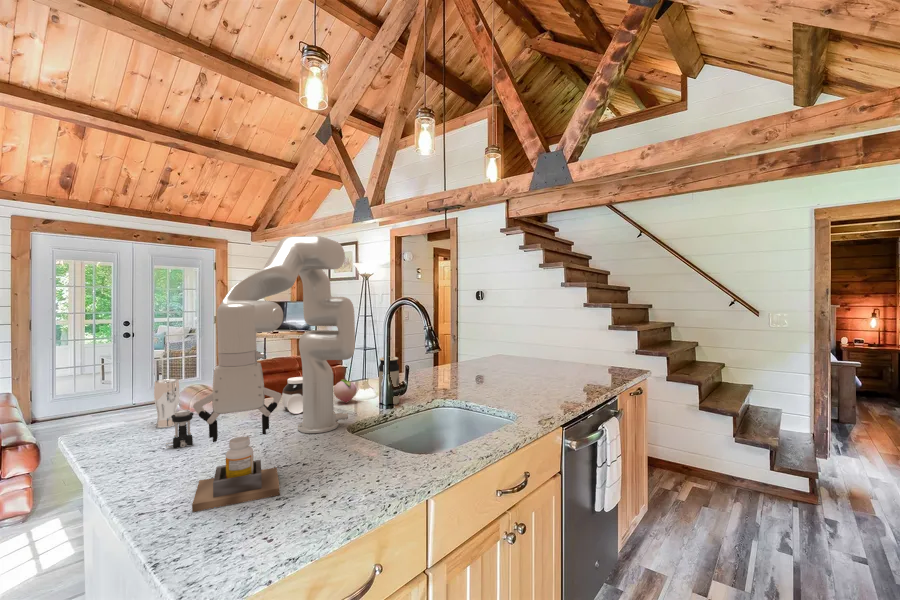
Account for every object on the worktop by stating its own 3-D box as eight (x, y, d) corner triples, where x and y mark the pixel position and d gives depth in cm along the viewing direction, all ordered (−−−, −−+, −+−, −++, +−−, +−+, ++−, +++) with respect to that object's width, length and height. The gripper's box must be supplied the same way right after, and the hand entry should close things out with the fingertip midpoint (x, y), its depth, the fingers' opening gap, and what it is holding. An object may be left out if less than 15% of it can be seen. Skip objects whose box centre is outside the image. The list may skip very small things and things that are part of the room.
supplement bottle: (233, 478, 93) (232, 435, 93) (257, 477, 93) (257, 434, 93) (221, 489, 88) (220, 444, 88) (247, 488, 88) (246, 443, 88)
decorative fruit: (329, 402, 166) (329, 377, 166) (348, 399, 172) (347, 375, 171) (341, 407, 159) (340, 381, 159) (359, 403, 165) (359, 378, 165)
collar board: (276, 473, 99) (276, 454, 99) (279, 495, 88) (279, 474, 88) (199, 487, 92) (199, 467, 92) (192, 512, 81) (192, 489, 81)
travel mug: (375, 404, 163) (375, 359, 163) (385, 399, 170) (385, 356, 170) (393, 406, 160) (392, 360, 160) (402, 401, 167) (402, 357, 167)
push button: (165, 451, 114) (165, 415, 113) (165, 446, 118) (165, 411, 118) (194, 446, 117) (193, 411, 117) (193, 441, 122) (192, 407, 122)
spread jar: (302, 404, 163) (302, 375, 163) (320, 409, 156) (320, 378, 156) (274, 411, 153) (274, 380, 153) (292, 416, 147) (292, 384, 147)
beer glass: (184, 423, 139) (184, 379, 139) (164, 429, 133) (164, 383, 133) (169, 421, 142) (169, 377, 141) (149, 427, 135) (148, 381, 135)
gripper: (279, 353, 97) (281, 425, 98) (194, 359, 90) (196, 437, 91) (281, 358, 91) (283, 435, 91) (189, 366, 83) (192, 449, 84)
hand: (240, 436), depth 91 cm, fingers open, 9 cm apart
